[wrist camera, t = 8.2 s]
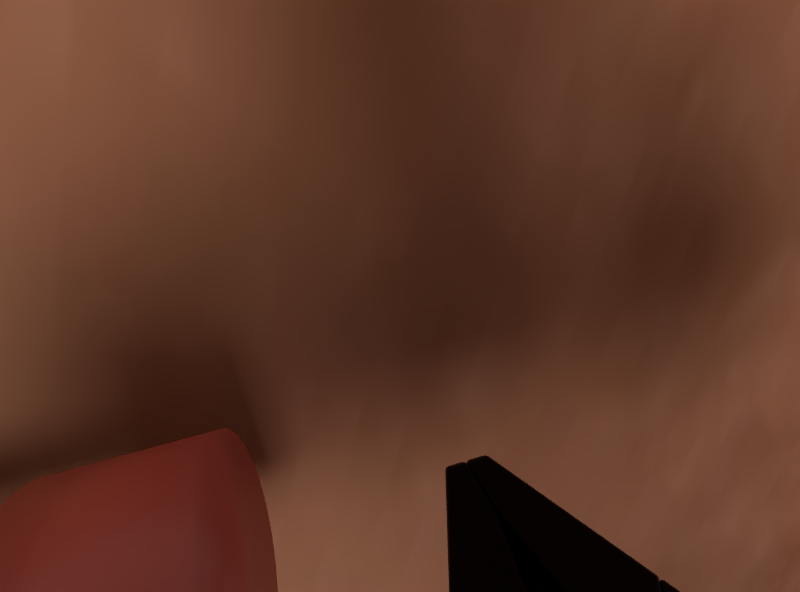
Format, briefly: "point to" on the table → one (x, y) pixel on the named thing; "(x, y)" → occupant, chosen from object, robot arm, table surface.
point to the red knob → (143, 524)
